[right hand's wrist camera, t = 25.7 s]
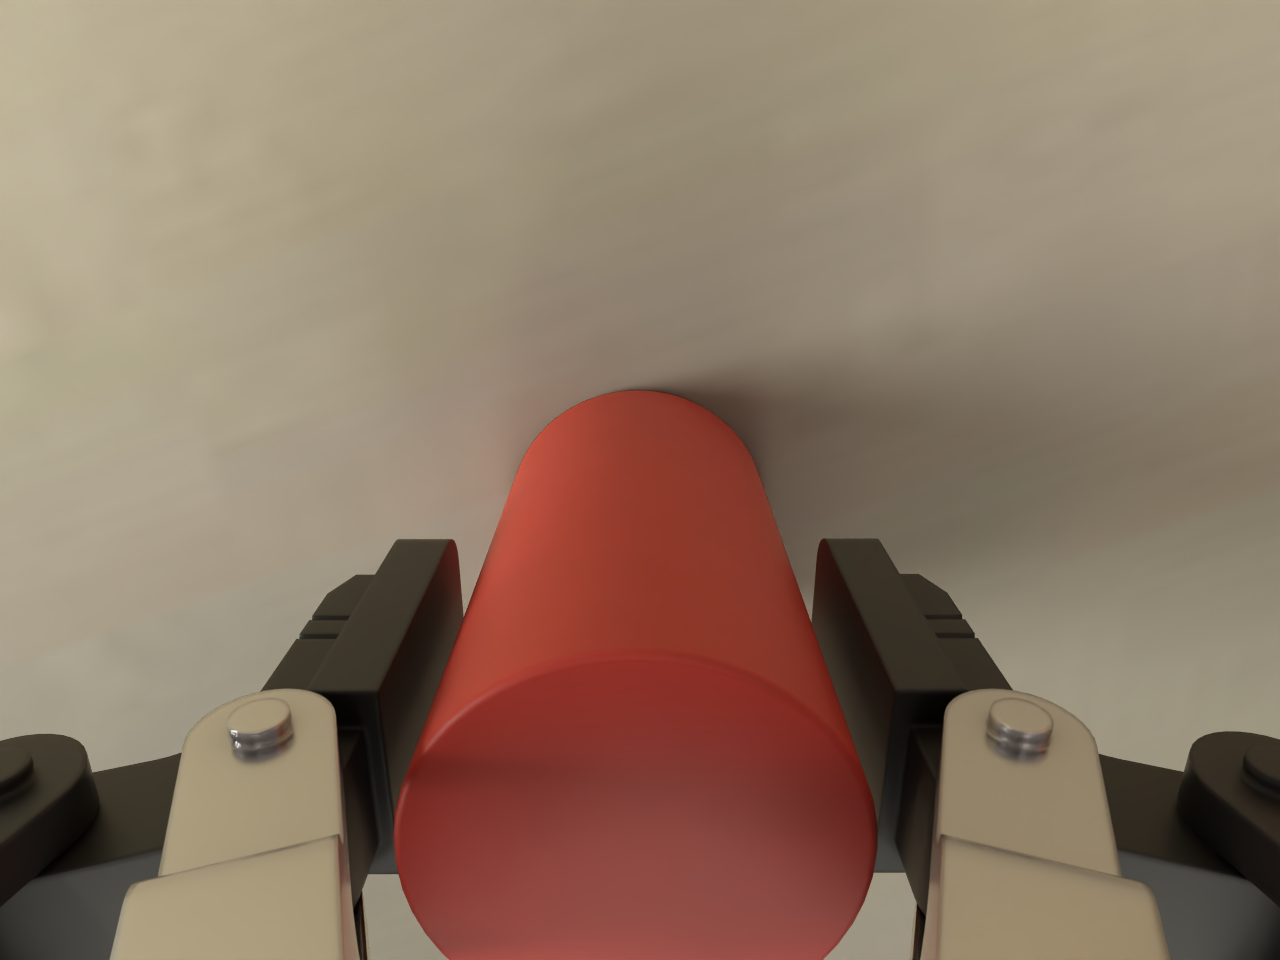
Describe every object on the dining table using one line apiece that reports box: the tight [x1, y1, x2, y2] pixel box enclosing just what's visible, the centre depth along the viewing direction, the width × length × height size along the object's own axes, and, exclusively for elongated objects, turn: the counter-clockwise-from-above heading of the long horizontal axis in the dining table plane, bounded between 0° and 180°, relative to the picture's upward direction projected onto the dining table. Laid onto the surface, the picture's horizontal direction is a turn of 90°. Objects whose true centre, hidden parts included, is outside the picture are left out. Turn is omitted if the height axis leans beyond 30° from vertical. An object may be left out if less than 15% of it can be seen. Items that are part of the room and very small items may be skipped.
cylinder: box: [393, 390, 877, 960], centre depth 11 cm, size 4×4×8 cm
